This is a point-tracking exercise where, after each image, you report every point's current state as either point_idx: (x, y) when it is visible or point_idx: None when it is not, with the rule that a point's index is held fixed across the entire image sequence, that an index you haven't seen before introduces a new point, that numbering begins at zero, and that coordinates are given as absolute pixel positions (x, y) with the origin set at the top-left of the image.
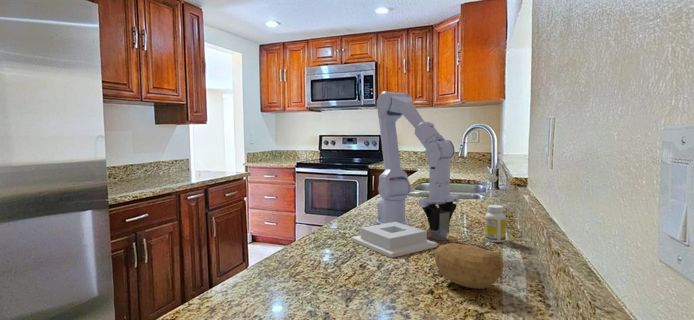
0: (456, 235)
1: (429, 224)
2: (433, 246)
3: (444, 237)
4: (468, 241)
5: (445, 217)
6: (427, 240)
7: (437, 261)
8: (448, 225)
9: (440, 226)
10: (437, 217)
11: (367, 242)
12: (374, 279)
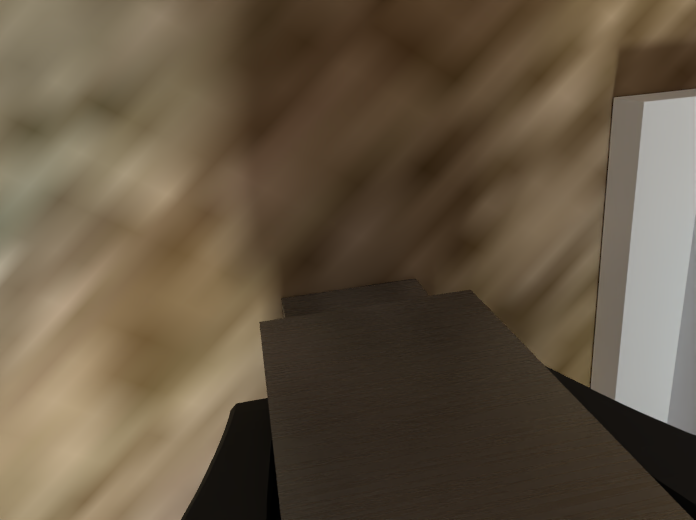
0: (31, 382)
1: None
2: (688, 90)
3: (329, 304)
4: (62, 70)
5: (422, 479)
6: (651, 250)
7: None
8: (292, 379)
9: (506, 349)
10: (683, 463)
11: None
12: None
